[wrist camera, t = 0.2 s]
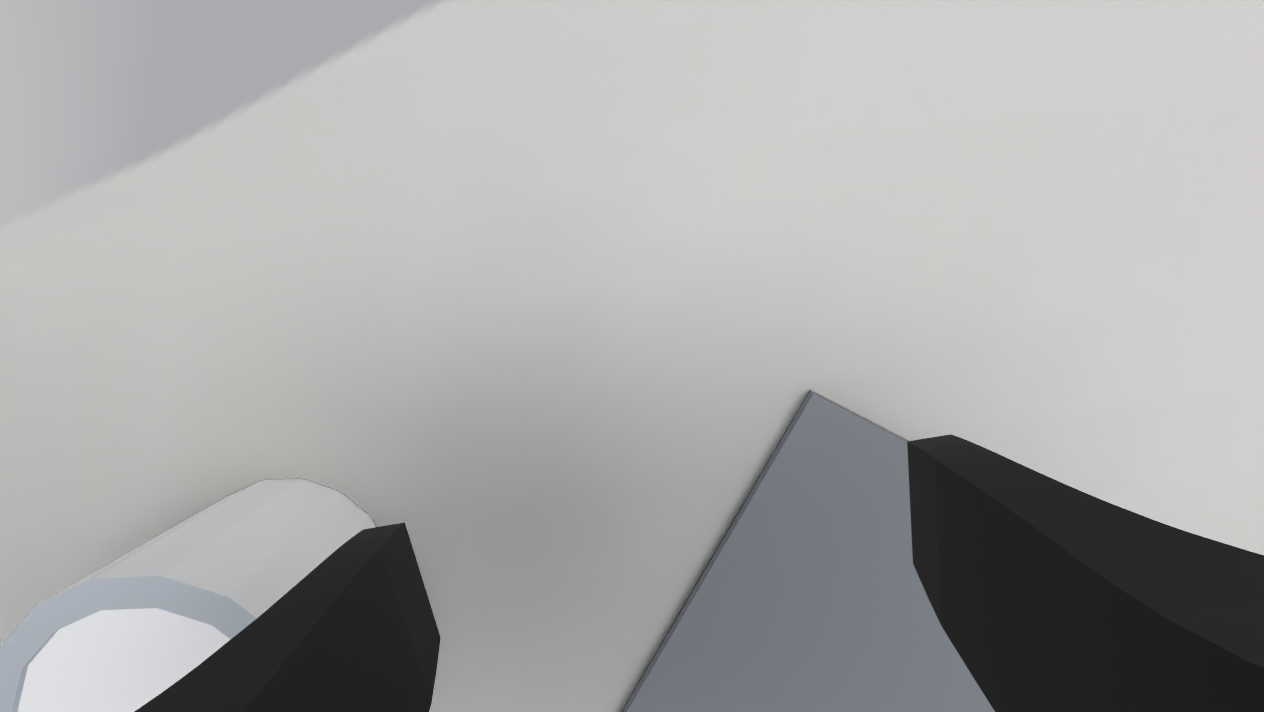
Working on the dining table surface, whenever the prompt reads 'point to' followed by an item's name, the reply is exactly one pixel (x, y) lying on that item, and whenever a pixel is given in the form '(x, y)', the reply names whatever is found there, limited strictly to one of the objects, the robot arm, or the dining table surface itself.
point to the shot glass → (172, 600)
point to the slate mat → (814, 591)
